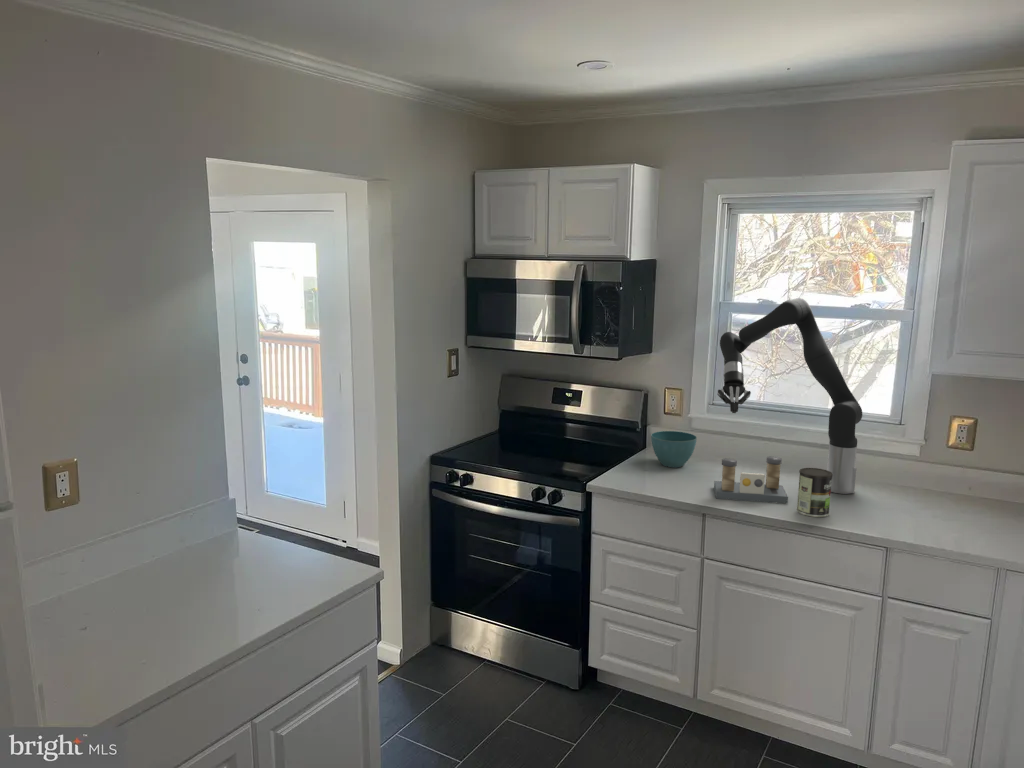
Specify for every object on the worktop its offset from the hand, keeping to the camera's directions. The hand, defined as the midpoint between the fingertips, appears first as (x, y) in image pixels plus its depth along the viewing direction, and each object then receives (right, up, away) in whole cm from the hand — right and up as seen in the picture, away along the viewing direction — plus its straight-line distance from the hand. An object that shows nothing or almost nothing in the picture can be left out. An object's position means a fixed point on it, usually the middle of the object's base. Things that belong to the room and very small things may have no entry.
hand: (734, 412), depth 282 cm
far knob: (-8, -27, -19) cm, 34 cm away
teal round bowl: (-19, -23, +21) cm, 36 cm away
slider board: (0, -29, -17) cm, 34 cm away
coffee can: (+16, -33, -34) cm, 50 cm away
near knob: (+9, -27, -16) cm, 32 cm away
